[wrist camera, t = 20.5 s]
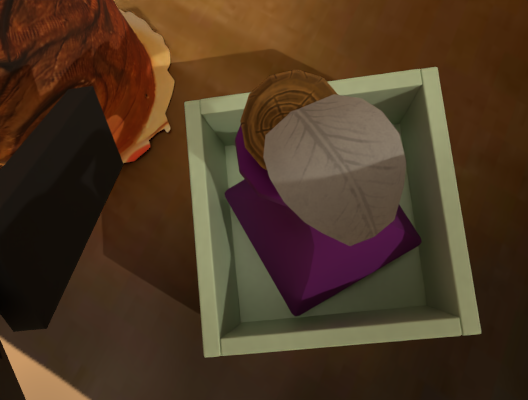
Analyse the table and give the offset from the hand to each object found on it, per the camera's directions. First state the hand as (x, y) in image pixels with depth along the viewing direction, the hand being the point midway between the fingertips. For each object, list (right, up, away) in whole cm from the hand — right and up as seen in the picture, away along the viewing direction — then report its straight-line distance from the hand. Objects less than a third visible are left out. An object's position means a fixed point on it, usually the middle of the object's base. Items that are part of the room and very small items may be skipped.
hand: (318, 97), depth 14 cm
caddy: (+2, -4, +14) cm, 15 cm away
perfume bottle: (+2, -4, +14) cm, 14 cm away
